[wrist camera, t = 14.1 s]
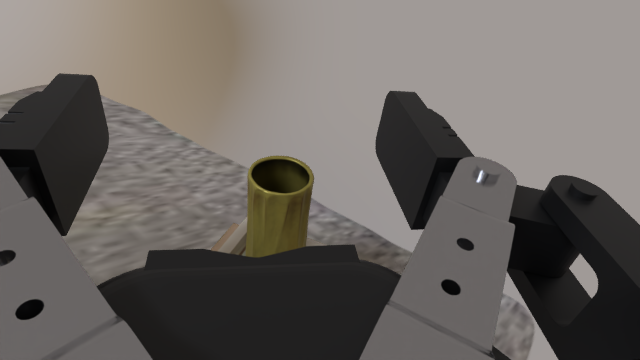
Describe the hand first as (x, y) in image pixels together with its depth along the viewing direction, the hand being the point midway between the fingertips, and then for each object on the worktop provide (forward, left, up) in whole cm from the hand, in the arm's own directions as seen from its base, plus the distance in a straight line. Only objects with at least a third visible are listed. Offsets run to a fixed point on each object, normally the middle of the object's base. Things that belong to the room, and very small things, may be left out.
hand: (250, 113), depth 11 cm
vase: (-5, +14, -28) cm, 31 cm away
